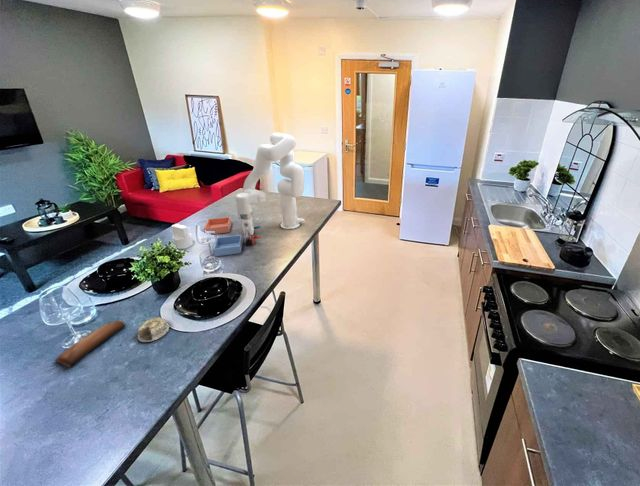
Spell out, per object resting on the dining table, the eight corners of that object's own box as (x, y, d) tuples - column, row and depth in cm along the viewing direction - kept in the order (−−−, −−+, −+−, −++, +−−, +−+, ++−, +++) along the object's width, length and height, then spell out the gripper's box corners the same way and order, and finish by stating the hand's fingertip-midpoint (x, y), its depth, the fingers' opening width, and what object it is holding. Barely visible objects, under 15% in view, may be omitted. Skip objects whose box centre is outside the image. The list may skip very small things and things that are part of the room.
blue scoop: (260, 230, 183) (259, 223, 181) (260, 233, 179) (259, 226, 177) (246, 231, 181) (245, 224, 179) (245, 235, 177) (244, 228, 175)
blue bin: (242, 241, 170) (241, 234, 168) (240, 253, 159) (239, 246, 157) (218, 244, 167) (216, 237, 165) (214, 256, 155) (213, 249, 153)
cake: (152, 322, 114) (149, 310, 112) (176, 324, 113) (173, 313, 111) (130, 341, 104) (127, 329, 103) (156, 344, 104) (153, 332, 102)
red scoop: (261, 240, 172) (260, 232, 170) (261, 243, 168) (260, 236, 166) (246, 241, 170) (245, 234, 168) (245, 245, 166) (244, 238, 164)
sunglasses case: (109, 321, 112) (110, 312, 109) (124, 331, 112) (126, 322, 109) (53, 361, 96) (53, 351, 93) (70, 372, 96) (71, 363, 93)
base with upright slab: (171, 246, 163) (165, 228, 158) (185, 239, 171) (180, 221, 166) (183, 250, 160) (178, 231, 155) (197, 242, 168) (192, 224, 163)
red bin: (231, 223, 191) (230, 216, 189) (229, 232, 180) (227, 225, 178) (209, 225, 188) (208, 219, 186) (205, 234, 176) (204, 228, 174)
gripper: (251, 220, 154) (256, 248, 161) (253, 208, 169) (257, 234, 176) (236, 222, 152) (241, 250, 159) (239, 209, 167) (244, 235, 174)
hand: (249, 241), depth 168 cm, fingers open, 8 cm apart
